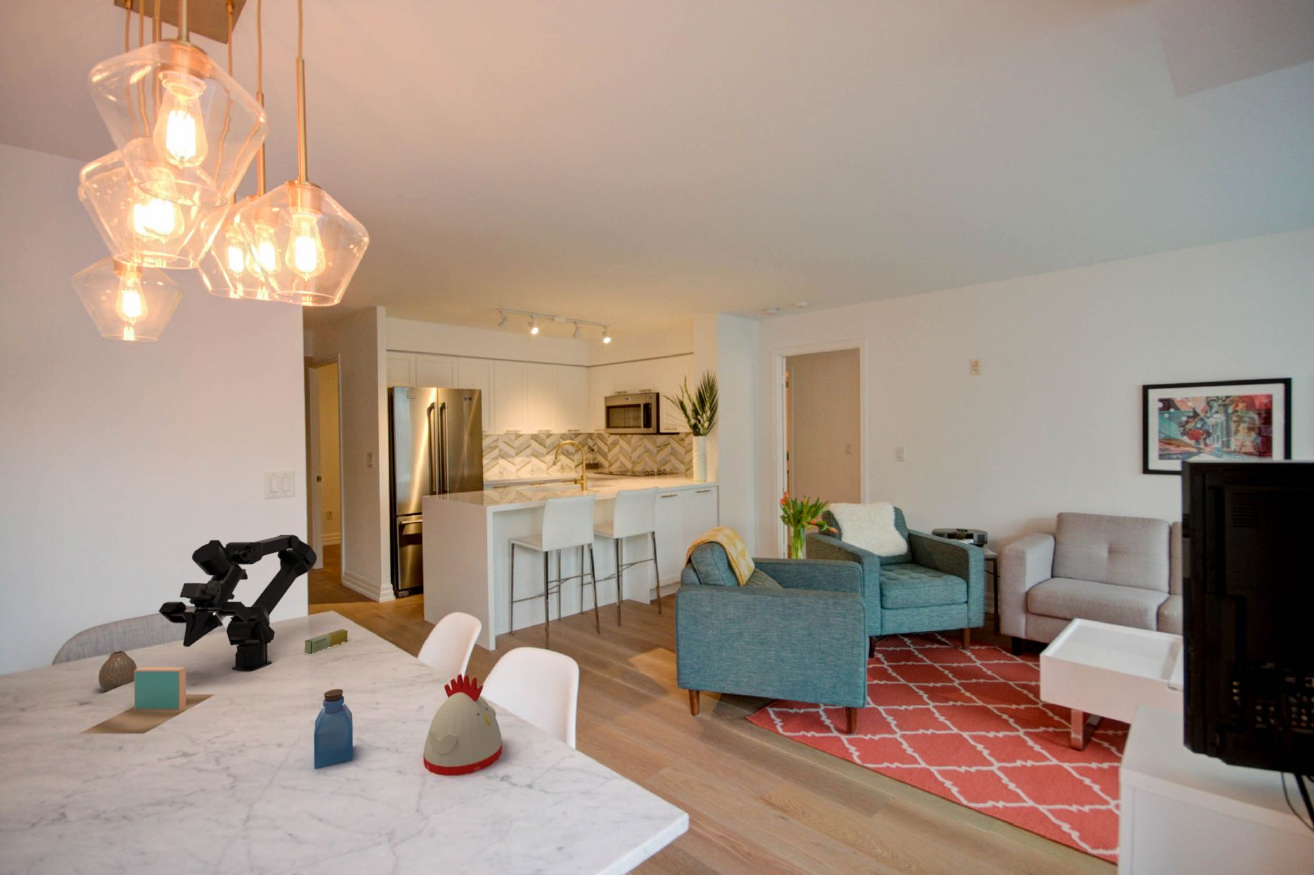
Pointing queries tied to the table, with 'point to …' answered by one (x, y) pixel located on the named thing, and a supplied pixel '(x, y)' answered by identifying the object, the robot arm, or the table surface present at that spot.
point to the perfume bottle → (333, 731)
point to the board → (143, 718)
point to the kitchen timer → (462, 732)
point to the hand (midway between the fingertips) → (185, 646)
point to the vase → (117, 671)
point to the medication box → (325, 641)
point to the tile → (160, 688)
